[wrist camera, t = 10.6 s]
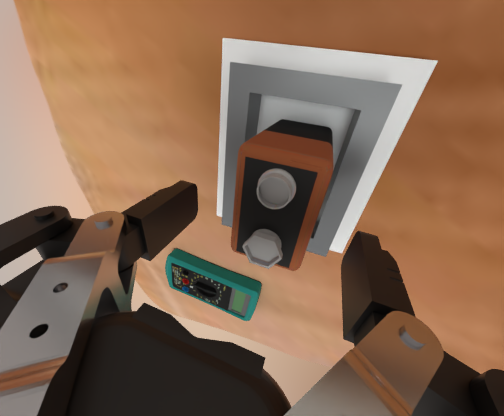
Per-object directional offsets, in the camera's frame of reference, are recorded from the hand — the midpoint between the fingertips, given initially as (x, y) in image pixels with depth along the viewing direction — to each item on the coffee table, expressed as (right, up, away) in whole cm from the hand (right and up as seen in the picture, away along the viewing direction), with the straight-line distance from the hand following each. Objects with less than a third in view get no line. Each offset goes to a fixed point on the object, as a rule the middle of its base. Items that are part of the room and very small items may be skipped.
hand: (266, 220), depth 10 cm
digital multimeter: (-6, -10, +22) cm, 25 cm away
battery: (+3, +5, +8) cm, 10 cm away
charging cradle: (+3, +5, +9) cm, 11 cm away
